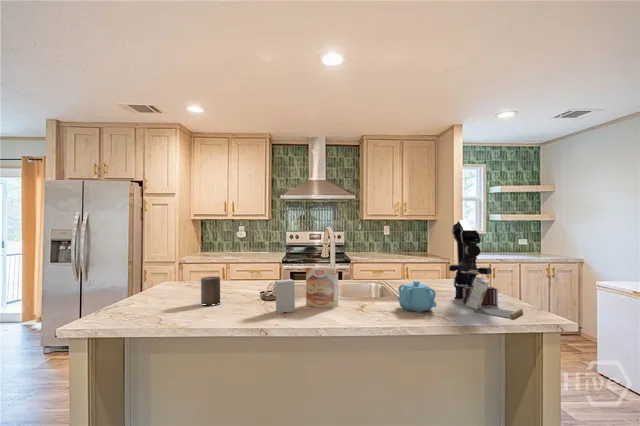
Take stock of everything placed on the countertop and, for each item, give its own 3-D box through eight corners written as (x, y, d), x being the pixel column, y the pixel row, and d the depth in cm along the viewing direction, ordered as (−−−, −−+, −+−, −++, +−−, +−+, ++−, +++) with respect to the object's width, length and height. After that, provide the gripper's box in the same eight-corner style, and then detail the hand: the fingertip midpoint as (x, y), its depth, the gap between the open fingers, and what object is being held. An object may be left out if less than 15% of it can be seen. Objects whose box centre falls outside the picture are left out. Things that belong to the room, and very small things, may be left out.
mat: (473, 312, 171) (473, 307, 171) (484, 307, 181) (484, 303, 181) (513, 318, 159) (512, 314, 159) (522, 313, 169) (522, 309, 169)
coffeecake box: (305, 306, 185) (305, 267, 185) (311, 303, 192) (311, 265, 192) (333, 309, 179) (333, 268, 180) (338, 305, 186) (338, 267, 186)
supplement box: (494, 287, 188) (462, 286, 190) (498, 288, 184) (465, 288, 185) (494, 303, 188) (462, 303, 190) (497, 306, 183) (465, 305, 185)
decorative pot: (430, 306, 184) (430, 278, 184) (438, 314, 168) (437, 284, 168) (397, 305, 186) (397, 278, 186) (401, 313, 170) (401, 284, 170)
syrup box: (468, 302, 183) (477, 275, 180) (480, 308, 179) (490, 280, 177) (464, 304, 178) (474, 277, 176) (477, 310, 175) (486, 282, 172)
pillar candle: (224, 303, 193) (224, 274, 193) (209, 307, 185) (209, 277, 185) (211, 301, 198) (211, 273, 198) (196, 305, 190) (196, 275, 190)
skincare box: (291, 309, 179) (291, 278, 179) (295, 312, 174) (295, 280, 174) (274, 310, 176) (274, 279, 177) (277, 313, 171) (277, 281, 171)
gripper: (443, 254, 181) (444, 286, 181) (482, 257, 168) (482, 292, 167) (454, 253, 189) (454, 284, 189) (491, 255, 175) (492, 288, 175)
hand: (470, 287), depth 180 cm, fingers closed
